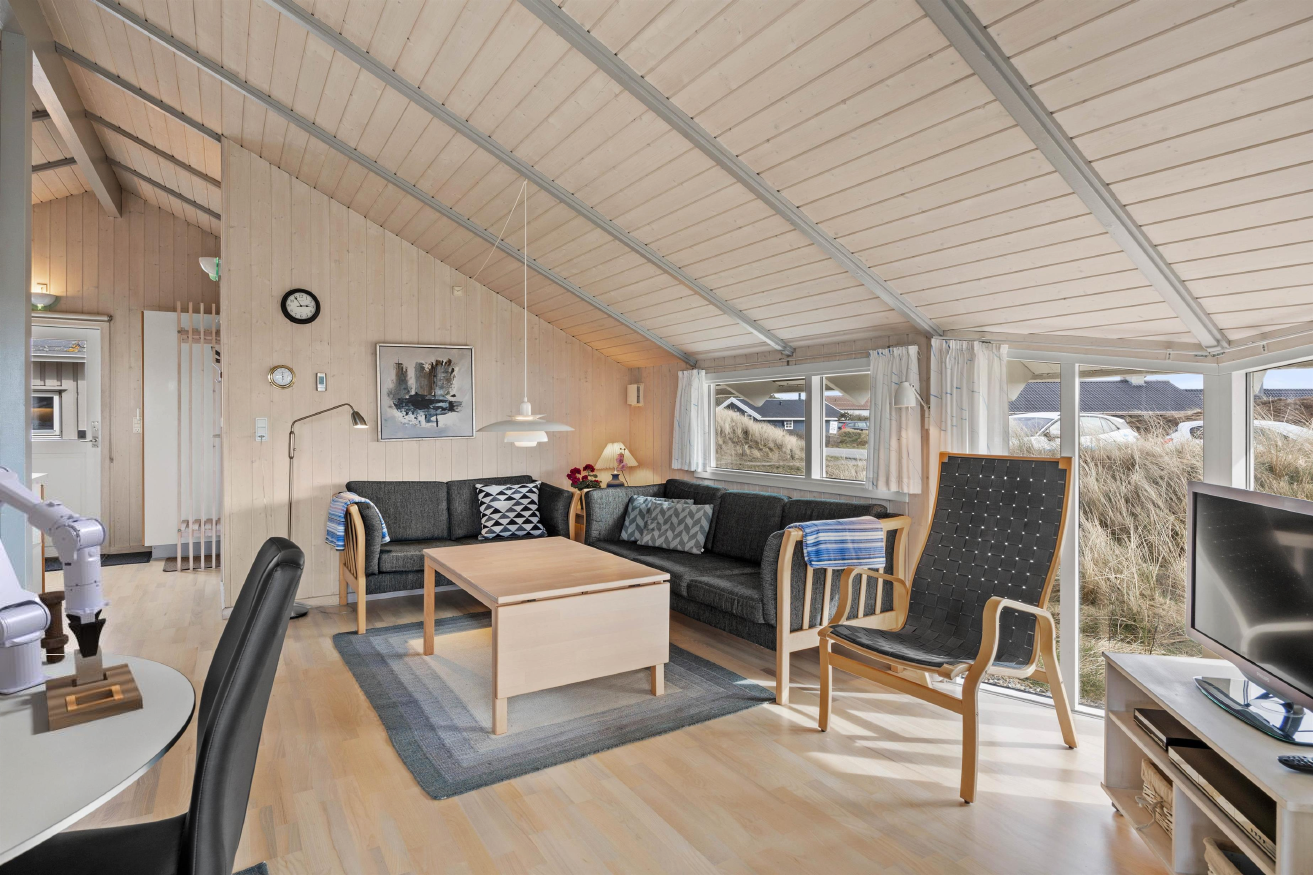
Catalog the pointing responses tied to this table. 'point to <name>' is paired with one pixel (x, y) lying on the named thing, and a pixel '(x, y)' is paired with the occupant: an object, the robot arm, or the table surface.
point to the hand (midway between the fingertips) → (88, 651)
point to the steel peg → (88, 668)
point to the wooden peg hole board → (91, 697)
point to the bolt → (54, 626)
